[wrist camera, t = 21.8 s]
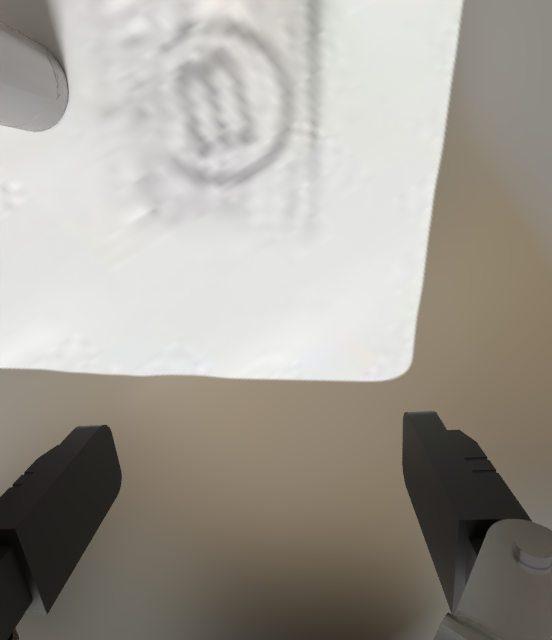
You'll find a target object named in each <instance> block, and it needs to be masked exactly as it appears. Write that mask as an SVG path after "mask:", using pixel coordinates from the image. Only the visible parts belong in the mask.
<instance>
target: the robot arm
mask: <svg viewBox="0 0 552 640" xmlns="http://www.w3.org/2000/svg"><path fill="white" fill-rule="evenodd" d="M67 102H68V88H67V81H66V78H65V75H64V72H63V70H62V68H61V66H60V64H59V63H58V61H57V60H56V59H55V57H54V56H53V55H52V54H51V53H50V52H49V51H48V50H47V49H46V48H44V47H43V46H41V45H39V44H38V43H36V42H34V41H33V40H31V39H29V38H27V37H25V36H24V35H22V34H20V33H18V32H17V31H15V30H13V29H11V28H10V27H8V26H6V25H4V24H2V23H1V22H0V125H3V126H7V127H12V128H17V129H21V130H26V131H33V132H37V131H44V130H46V129H49V128H51V127H52V126H54V125H55V124H56V123H57V122H58V121H59V120H60V119H61V118H62V116H63V114H64V112H65V109H66V105H67ZM402 456H403V457H402V465H403V474H404V480H405V485H406V488H407V491H408V494H409V496H410V499H411V502H412V504H413V508H414V510H415V513H416V516H417V518H418V521H419V524H420V527H421V530H422V533H423V535H424V538H425V541H426V544H427V546H428V549H429V552H430V555H431V557H432V560H433V563H434V566H435V569H436V572H437V574H438V577H439V580H440V582H441V585H442V588H443V591H444V593H445V597H446V599H447V602H448V605H449V607H450V610H451V613H452V614H450V613H447V614H446V615H445V617H444V618H443V620H442V622H441V624H440V626H439V628H438V630H437V633H436V635H435V638H434V640H552V530H550V529H548V528H547V527H544V526H542V525H540V524H537V523H534V522H532V520H531V519H530V518H529V516H528V515H527V513H526V512H525V510H524V509H523V508H522V506H521V505H520V503H519V502H518V501H517V499H516V498H515V496H514V495H513V493H512V492H511V491H510V489H509V488H508V486H507V485H506V483H505V482H504V481H503V479H502V478H501V476H500V475H499V473H496V469H495V468H494V466H493V465H492V463H491V462H490V461H489V460H487V456H486V455H485V453H484V452H483V451H482V449H481V448H480V446H479V445H478V443H477V442H476V441H474V440H473V439H471V438H470V437H469V436H467V435H466V434H464V433H463V432H462V431H460V430H446V428H445V426H444V424H443V423H442V421H441V420H440V418H439V416H438V415H437V413H436V412H435V411H424V412H423V411H422V412H405V413H404V416H403V455H402ZM121 479H122V474H121V468H120V464H119V461H118V456H117V452H116V448H115V444H114V440H113V436H112V432H111V430H110V428H109V427H108V426H107V425H90V426H78V427H76V428H75V429H74V430H73V431H72V432H71V433H70V434H69V435H68V436H67V437H66V438H65V440H63V441H62V443H61V444H60V445H57V446H56V447H54V448H53V449H51V450H50V451H48V452H47V453H45V454H44V455H42V456H40V457H39V458H38V459H37V460H36V461H35V462H34V463H33V464H32V465H31V466H30V467H29V468H28V469H27V470H26V471H25V474H24V475H21V476H20V477H19V478H18V480H16V482H15V483H14V484H13V487H11V488H9V489H8V490H7V491H6V492H5V493H4V494H3V495H2V496H1V497H0V640H19V634H18V631H17V629H16V626H17V624H18V623H19V621H20V620H21V618H22V617H23V615H47V614H48V612H49V611H50V609H51V607H52V606H53V604H54V602H55V600H56V599H57V597H58V595H59V594H60V592H61V590H62V588H63V587H64V585H65V583H66V582H67V580H68V578H69V577H70V575H71V573H72V572H73V570H74V568H75V567H76V565H77V563H78V562H79V560H80V558H81V556H82V555H83V553H84V551H85V550H86V548H87V546H88V544H89V543H90V541H91V540H92V538H93V536H94V534H95V533H96V531H97V529H98V528H99V526H100V524H101V522H102V521H103V519H104V517H105V516H106V514H107V512H108V511H109V509H110V507H111V506H112V504H113V502H114V501H115V499H116V497H117V495H118V493H119V490H120V487H121Z"/></svg>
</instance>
